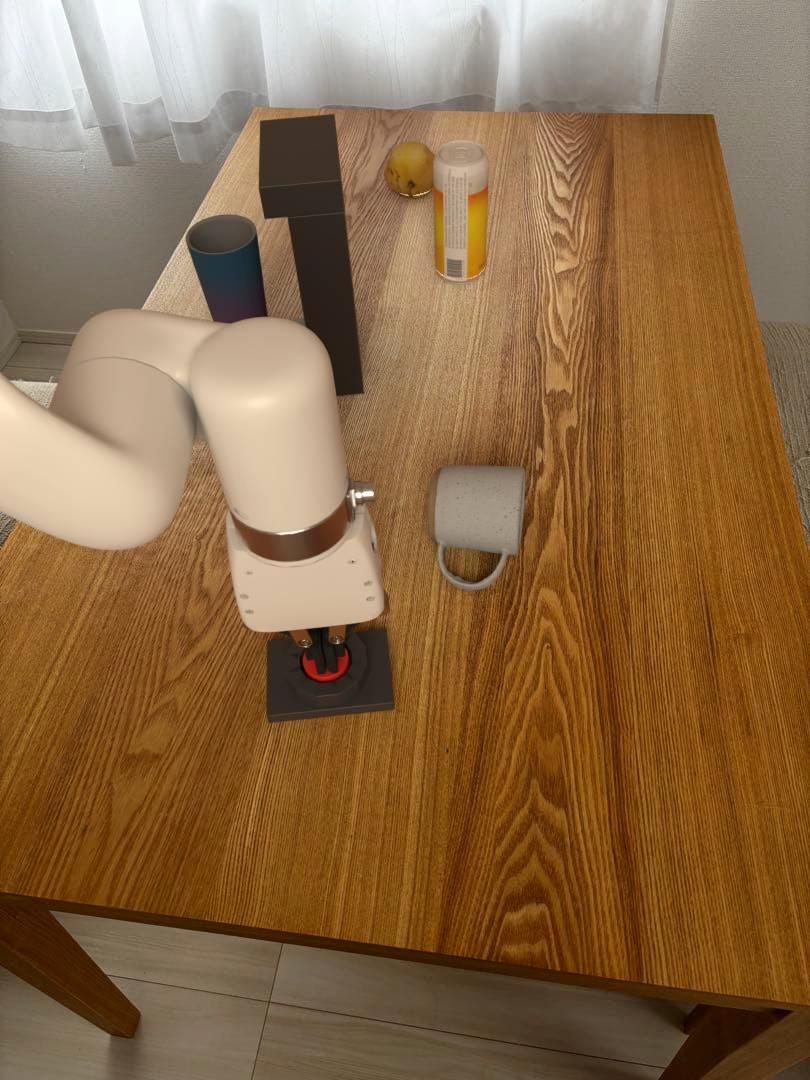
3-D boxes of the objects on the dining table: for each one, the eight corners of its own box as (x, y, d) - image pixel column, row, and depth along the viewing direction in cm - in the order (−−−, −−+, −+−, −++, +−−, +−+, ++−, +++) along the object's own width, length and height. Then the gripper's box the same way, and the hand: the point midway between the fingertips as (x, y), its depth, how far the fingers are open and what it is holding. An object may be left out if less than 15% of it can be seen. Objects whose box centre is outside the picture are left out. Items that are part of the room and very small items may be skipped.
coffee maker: (204, 409, 92) (139, 198, 73) (209, 337, 99) (152, 129, 80) (364, 393, 92) (340, 179, 73) (357, 323, 100) (334, 113, 81)
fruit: (436, 173, 109) (448, 132, 114) (383, 157, 108) (397, 117, 114) (425, 220, 114) (436, 179, 120) (374, 205, 114) (388, 165, 120)
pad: (268, 723, 68) (262, 705, 66) (269, 648, 73) (262, 628, 71) (394, 710, 69) (392, 691, 66) (387, 635, 73) (385, 615, 71)
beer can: (487, 258, 106) (491, 138, 95) (483, 288, 103) (487, 167, 91) (438, 256, 107) (436, 137, 95) (432, 286, 103) (429, 165, 92)
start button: (306, 691, 69) (303, 680, 67) (305, 652, 71) (302, 640, 69) (351, 686, 69) (349, 675, 67) (349, 647, 71) (346, 636, 69)
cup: (206, 356, 95) (171, 233, 83) (258, 329, 97) (231, 206, 86) (240, 387, 91) (209, 262, 80) (293, 358, 94) (270, 234, 82)
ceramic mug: (437, 499, 82) (435, 442, 76) (524, 506, 81) (529, 449, 75) (422, 591, 76) (418, 537, 70) (515, 600, 75) (520, 546, 69)
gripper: (405, 450, 56) (416, 608, 71) (176, 474, 56) (234, 628, 71) (417, 540, 52) (426, 689, 66) (167, 566, 51) (231, 711, 66)
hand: (327, 657), depth 68 cm, fingers closed
